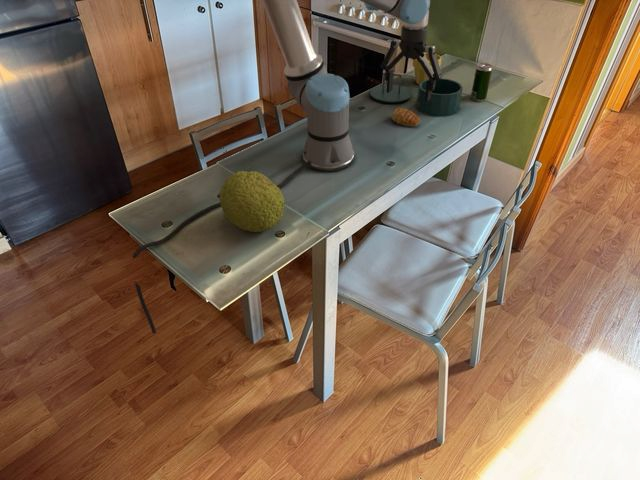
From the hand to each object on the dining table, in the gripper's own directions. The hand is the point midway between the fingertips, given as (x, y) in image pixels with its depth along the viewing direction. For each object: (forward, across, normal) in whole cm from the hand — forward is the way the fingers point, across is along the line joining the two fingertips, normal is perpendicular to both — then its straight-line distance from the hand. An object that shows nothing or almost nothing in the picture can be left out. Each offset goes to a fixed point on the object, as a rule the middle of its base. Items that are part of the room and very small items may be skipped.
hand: (408, 95), depth 151 cm
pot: (+9, -4, -16) cm, 19 cm away
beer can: (+10, -14, -30) cm, 34 cm away
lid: (+8, +14, -16) cm, 23 cm away
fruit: (+8, +6, +70) cm, 71 cm away
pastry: (+9, 0, 0) cm, 9 cm away
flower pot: (+9, +9, -34) cm, 36 cm away
